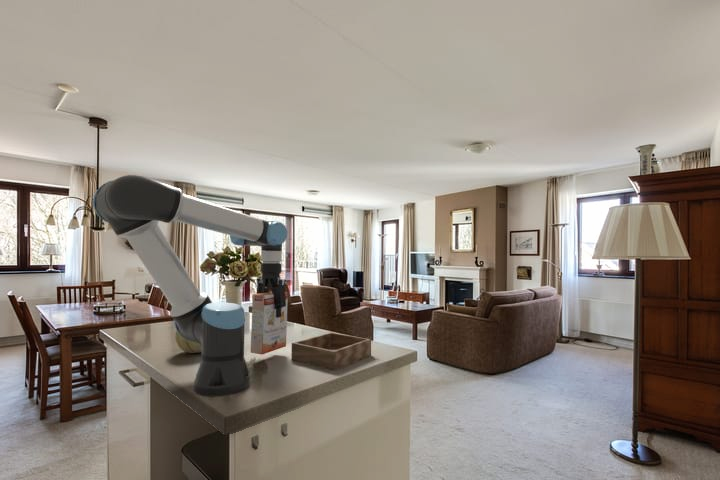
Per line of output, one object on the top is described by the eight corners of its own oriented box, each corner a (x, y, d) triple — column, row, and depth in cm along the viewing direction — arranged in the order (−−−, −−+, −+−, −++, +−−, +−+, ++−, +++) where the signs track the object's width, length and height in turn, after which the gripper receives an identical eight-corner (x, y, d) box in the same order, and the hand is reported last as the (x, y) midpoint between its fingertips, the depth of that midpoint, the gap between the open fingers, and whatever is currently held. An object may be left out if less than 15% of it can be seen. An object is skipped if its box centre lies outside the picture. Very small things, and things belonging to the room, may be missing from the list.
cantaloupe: (224, 350, 142) (225, 312, 143) (192, 360, 129) (193, 318, 130) (199, 345, 149) (199, 309, 150) (166, 354, 136) (167, 314, 136)
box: (334, 370, 118) (334, 351, 118) (291, 359, 130) (291, 343, 130) (371, 355, 136) (371, 339, 136) (330, 347, 148) (330, 332, 148)
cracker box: (263, 355, 124) (264, 294, 125) (249, 353, 127) (251, 293, 128) (287, 346, 137) (288, 291, 138) (274, 344, 139) (275, 290, 140)
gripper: (297, 263, 131) (296, 326, 130) (262, 262, 142) (260, 320, 141) (281, 263, 125) (280, 330, 123) (246, 262, 136) (244, 323, 135)
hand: (269, 325), depth 132 cm, fingers closed on cracker box, 6 cm apart
